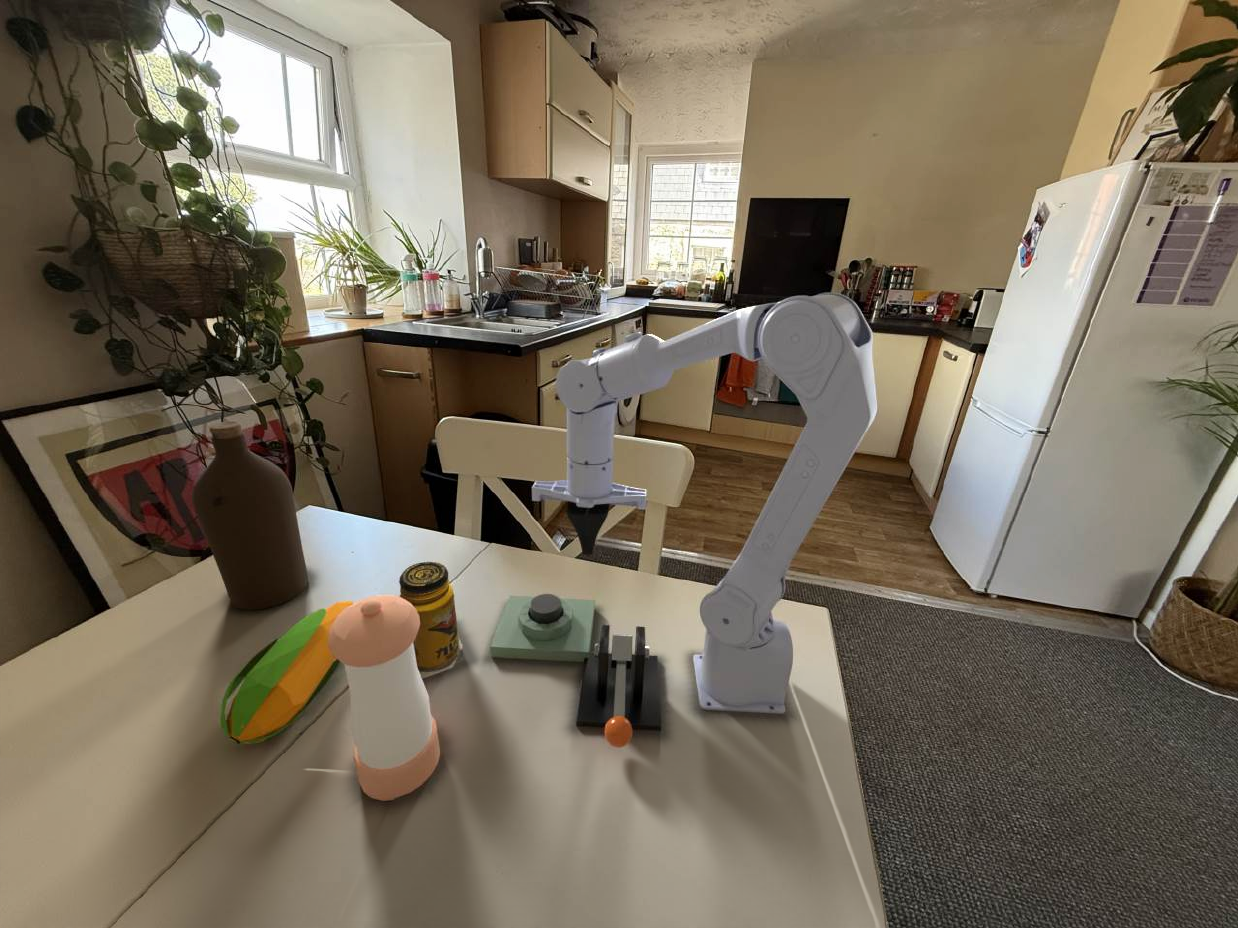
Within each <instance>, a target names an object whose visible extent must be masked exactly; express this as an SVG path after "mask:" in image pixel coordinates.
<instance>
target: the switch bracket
mask: <svg viewBox="0 0 1238 928" xmlns="http://www.w3.org/2000/svg"><path fill="white" fill-rule="evenodd" d="M610 627H611V626H610V624H600V630H599V641H598V643H595V644H594V651H593V652H592V651H590V652H589V657H588V658H584V662H583V665H582V674H581V681H580V689H579V695H578V696H579V697H578V704H577V710H576V719H575V727H585V728H587V727H588V728H604V729H605V726H606V723H607V722H608V721H609V719H611V718H612V717H614V700H615V680H616V668H611V657H612V652H610V629H611V628H610ZM634 641H635V642H634V643H635V644H634V654H633V653H632V664H631V669H626V692H625V718H626V719H628V720H629V722H630V723H631V726H632V730H639V731H640V730H641V731H642V730H643V731H656V732H657V731H659V732H661V731H662V712H661V692H660V674H659V658H658V657H659V656H658V655H653V654H652V655H651V654H650V646H646V626H636V627H635V639H634Z"/></svg>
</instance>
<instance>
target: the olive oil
mask: <svg viewBox="0 0 1238 928" xmlns="http://www.w3.org/2000/svg"><path fill="white" fill-rule="evenodd" d="M208 429H209V433H211V437H210V440H211V443H212V445H213V446H212V447H213V449H214V452H215V456H214V458H213V459H212V460H211V462H209V464H208V465H207V467H206V468H204V470H203V471H202V473H201V474H200V475H199V477H198V478H197V479H196V481H195V483H194V486H193V488H192V500H191V501H192V507H193V510H194V512H195V515H196V517H197V519H198V522H199V525H200V527H201V529H202V531H203V534H204V536H205V539H206V541H207V543H208V546H209V549H210V551H211V553H212V556H213V558H214V561H215V563H216V566H217V568H218V571H219V574H220V576H221V579H222V582H223V585H224V587H225V589H226V593H227V595H228V598H229V600H230V602H231V604H232V605H233V606H234V607H235V608H237V609H240V610H247V611H254V610H255V611H257V610H262V609H268V608H272V607H276V606H278V605H281V604H283V603H286V602H288V601H290V600H292V599H293V598H295V597H296V596H298V595H299V594H300V593H302V591H303V590H304V589H305V588H306V587H307V585H308V583H309V574H308V569H307V564H306V559H305V555H304V549H303V544H302V539H301V534H300V533H301V532H300V528H299V521H298V516H297V510H296V504H295V498H294V493H293V492H294V491H293V487H292V484H291V481H290V480H289V478H288V476H287V475H286V473H285V472H284V470H283V469H282V468H281V467H280V466H278V465H276V464H275V463H273V462H272V461H270V460H268V459H266V458H264V457H262V456H260V455H258V454H256V453H254V452H253V451H252V450H250V449H249V448H248V444H247V439H246V435H245V432H243V431H242V424H241V423H240V422H239V421H222V422H221V421H220V422H217V423H214V424H212V425H210V426H209V427H208Z"/></svg>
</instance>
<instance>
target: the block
mask: <svg viewBox="0 0 1238 928" xmlns="http://www.w3.org/2000/svg"><path fill="white" fill-rule="evenodd" d="M556 596H557V597H559V598H560V600H561V606H562V614H561V617H560V618H559V619H558V620H557V621H556V622H553V623H550V624H539V623H536V622H534V621H533V620H532V618H531V616H530V603H531V601H532V599H533V598H535V597H536V596H530V595H529V596H528V595H527V596H526V595H509V597H508V599H507V602H506V605H505V607H504V610H503V612H502V615H501V618H500V620H499V622H498V625H497V628H496V631H495V632H494V633H495V634H494V636H493V639H492V642H491V644H490V647H489V648H490V657H491V658H501V659H502V658H505V659H522V660H523V659H524V660H539V661H540V660H542V661H558V662H560V661H561V662H576V663H577V662H578V663H584V658H588V657H589V652H591V642H592V636H593V635H592V634H593V627H594V619H595V610H596V600H595V599H586V598H585V599H584V598H566V597H561V596H558V595H556Z"/></svg>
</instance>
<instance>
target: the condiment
mask: <svg viewBox="0 0 1238 928" xmlns="http://www.w3.org/2000/svg"><path fill="white" fill-rule="evenodd" d="M398 583H399V588H400V589H399V593H400V594H399V597H401V598H403V599H405V600H407V601H408V602H410V603H411V604H412V605H413V606H414V608H415V609H416V610H417V612H418V614H419V618H420V626H419V630H418V633H417V635H416V638H415V640H414V642H413V645H414V651H415V657H416V663H417V668H418V670H419V673H420V675H421V678H422V680H423V679H426V678H429V677H431V676H434V675H438V674H439V673H443V672H445V671H447V670H451V669H453V668H454V667H455V664H456V662H457V660H458V658H459V655H460V654H461V651H462V649H463V647H464V645H463V643H462V641H461V639H460V637H459V630H458V629H459V627H458V620H457V611H456V604H455V603H456V602H455V594H454V588H453V585H452V584H451V583H450V578H449V571H448V569H447V567H446V566H445V565H444V564H442V563H439V562H435V561H424V562H417V563H414V564H412V565H409V566H408V567H407V568H406V569H404V571H402V573H401V575H400V576H399V581H398Z"/></svg>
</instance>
